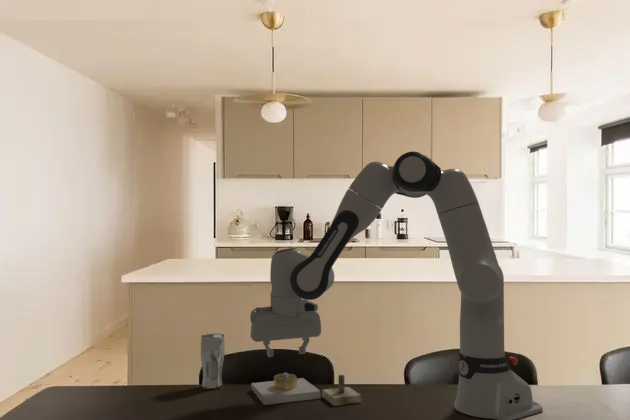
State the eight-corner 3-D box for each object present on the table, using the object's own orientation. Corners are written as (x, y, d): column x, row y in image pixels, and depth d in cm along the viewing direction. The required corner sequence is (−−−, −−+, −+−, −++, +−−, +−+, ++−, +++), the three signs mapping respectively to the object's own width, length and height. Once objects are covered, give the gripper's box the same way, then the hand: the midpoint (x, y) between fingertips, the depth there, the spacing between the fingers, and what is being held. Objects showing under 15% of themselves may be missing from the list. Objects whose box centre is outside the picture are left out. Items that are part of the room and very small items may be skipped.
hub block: (303, 384, 156) (303, 364, 156) (320, 398, 143) (320, 376, 143) (251, 390, 150) (251, 369, 150) (264, 404, 137) (264, 381, 137)
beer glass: (218, 391, 149) (219, 338, 149) (195, 389, 150) (196, 337, 151) (227, 384, 155) (228, 333, 156) (205, 383, 157) (206, 333, 158)
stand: (348, 394, 147) (348, 370, 147) (361, 402, 139) (361, 377, 140) (322, 397, 144) (322, 373, 144) (333, 405, 136) (333, 380, 137)
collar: (291, 383, 150) (292, 372, 150) (298, 388, 145) (298, 378, 145) (271, 385, 148) (272, 374, 148) (278, 391, 142) (278, 380, 143)
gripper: (253, 309, 141) (253, 360, 140) (323, 304, 148) (323, 353, 147) (247, 306, 147) (247, 356, 146) (314, 302, 154) (315, 349, 153)
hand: (286, 354), depth 147 cm, fingers open, 8 cm apart
